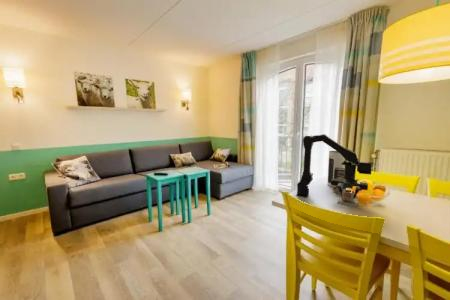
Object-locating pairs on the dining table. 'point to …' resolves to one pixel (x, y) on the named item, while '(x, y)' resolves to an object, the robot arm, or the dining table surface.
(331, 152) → the speaker
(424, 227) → the dining table surface
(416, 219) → the dining table surface
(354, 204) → the grey square slab
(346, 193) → the open wooden cubby
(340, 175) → the coffee box
